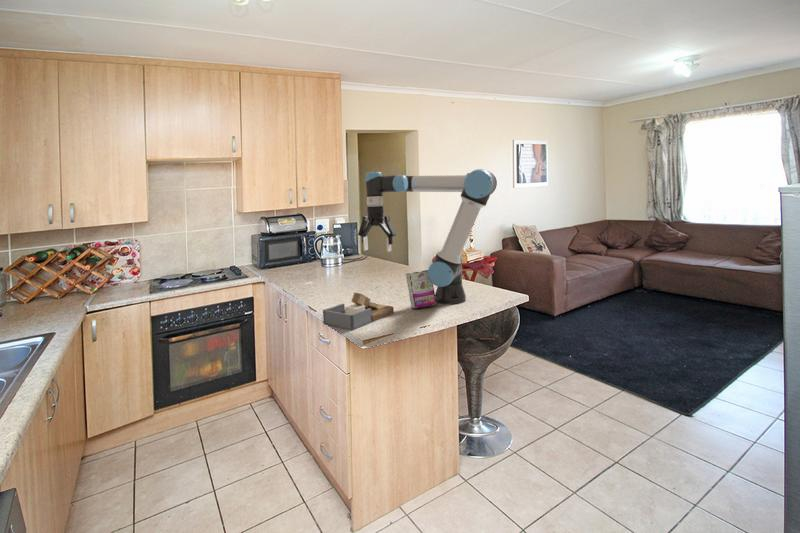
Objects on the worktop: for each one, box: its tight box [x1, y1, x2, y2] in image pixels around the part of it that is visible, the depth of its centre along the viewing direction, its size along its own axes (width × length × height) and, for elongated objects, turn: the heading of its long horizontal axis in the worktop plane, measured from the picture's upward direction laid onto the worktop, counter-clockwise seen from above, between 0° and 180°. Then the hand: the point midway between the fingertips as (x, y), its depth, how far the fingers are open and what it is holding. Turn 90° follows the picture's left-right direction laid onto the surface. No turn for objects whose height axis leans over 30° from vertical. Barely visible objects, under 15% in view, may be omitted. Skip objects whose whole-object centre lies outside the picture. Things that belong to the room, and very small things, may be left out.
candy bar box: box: [405, 269, 437, 309], centre depth 200 cm, size 11×5×16 cm, turn 114°
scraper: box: [351, 292, 380, 309], centre depth 188 cm, size 10×4×11 cm
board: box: [365, 303, 395, 323], centre depth 191 cm, size 16×15×3 cm
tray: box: [322, 303, 373, 331], centre depth 180 cm, size 16×12×6 cm
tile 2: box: [345, 303, 365, 314], centre depth 184 cm, size 6×6×3 cm
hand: (377, 250), depth 206 cm, fingers open, 13 cm apart
